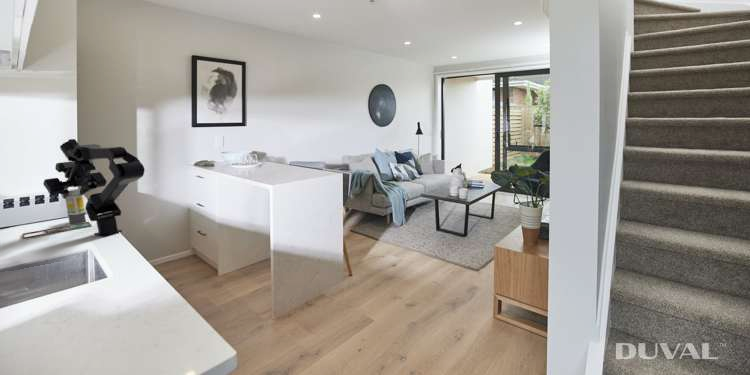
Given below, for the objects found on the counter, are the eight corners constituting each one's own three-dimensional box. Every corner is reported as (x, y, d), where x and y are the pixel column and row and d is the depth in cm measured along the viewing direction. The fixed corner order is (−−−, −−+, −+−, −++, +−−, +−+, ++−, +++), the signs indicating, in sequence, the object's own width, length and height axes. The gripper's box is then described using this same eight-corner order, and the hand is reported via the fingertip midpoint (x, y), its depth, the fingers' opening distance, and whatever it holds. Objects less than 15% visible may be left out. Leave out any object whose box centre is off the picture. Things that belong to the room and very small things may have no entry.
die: (84, 219, 158) (81, 207, 157) (85, 221, 154) (83, 209, 153) (69, 222, 154) (66, 209, 153) (70, 224, 151) (68, 211, 150)
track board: (88, 222, 153) (88, 221, 152) (91, 226, 148) (91, 225, 148) (22, 234, 139) (22, 233, 139) (23, 239, 134) (23, 237, 134)
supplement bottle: (68, 215, 143) (63, 191, 141) (67, 213, 147) (63, 189, 145) (86, 212, 146) (81, 189, 144) (84, 210, 150) (80, 187, 148)
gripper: (97, 152, 148) (88, 177, 155) (39, 157, 132) (32, 185, 139) (111, 172, 146) (101, 197, 153) (55, 180, 130) (46, 207, 137)
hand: (72, 196), depth 146 cm, fingers closed on supplement bottle, 5 cm apart
